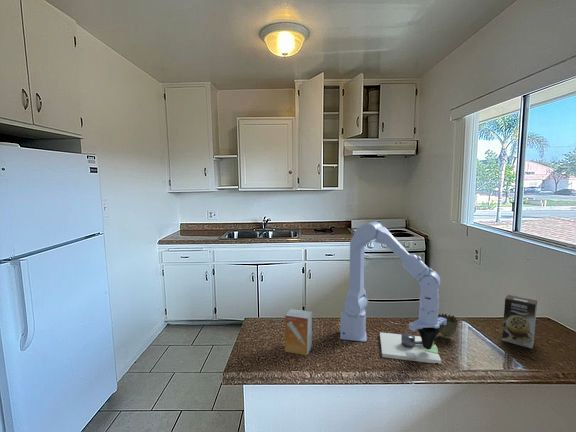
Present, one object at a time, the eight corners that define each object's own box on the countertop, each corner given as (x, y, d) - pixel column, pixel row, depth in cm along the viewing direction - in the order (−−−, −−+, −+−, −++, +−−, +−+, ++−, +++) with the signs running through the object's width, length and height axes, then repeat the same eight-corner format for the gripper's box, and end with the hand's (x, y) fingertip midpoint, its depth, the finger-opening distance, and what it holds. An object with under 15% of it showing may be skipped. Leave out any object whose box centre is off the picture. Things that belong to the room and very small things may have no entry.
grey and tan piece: (404, 347, 107) (404, 336, 107) (399, 341, 112) (399, 330, 111) (436, 346, 108) (436, 335, 107) (429, 340, 112) (430, 330, 112)
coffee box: (501, 340, 116) (504, 298, 114) (504, 334, 120) (507, 293, 119) (532, 349, 109) (535, 304, 108) (534, 342, 114) (537, 299, 113)
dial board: (382, 359, 103) (382, 355, 102) (379, 335, 120) (379, 331, 119) (444, 367, 98) (444, 362, 98) (432, 341, 115) (432, 337, 115)
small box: (284, 352, 107) (284, 315, 106) (289, 343, 113) (290, 308, 112) (307, 356, 104) (308, 318, 103) (311, 347, 110) (312, 311, 109)
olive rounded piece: (459, 343, 113) (460, 322, 113) (437, 341, 115) (438, 320, 114) (453, 334, 121) (454, 314, 120) (432, 332, 122) (433, 312, 122)
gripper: (421, 316, 97) (419, 358, 99) (455, 309, 103) (453, 349, 104) (404, 308, 104) (403, 347, 105) (437, 302, 109) (435, 340, 110)
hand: (427, 347), depth 105 cm, fingers closed
